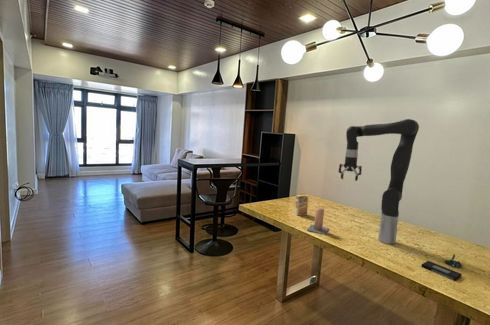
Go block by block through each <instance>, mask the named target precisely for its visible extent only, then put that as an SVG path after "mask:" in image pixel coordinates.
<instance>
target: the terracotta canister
mask: <svg viewBox="0 0 490 325" xmlns="http://www.w3.org/2000/svg"><path fill="white" fill-rule="evenodd" d="M324 214H325V208H323V207H316V208H315V214H314V224H313V225H314V229H315V230H319V231H321V230H322V227H324Z"/></svg>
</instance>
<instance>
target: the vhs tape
mask: <svg viewBox="0 0 490 325" xmlns="http://www.w3.org/2000/svg"><path fill="white" fill-rule="evenodd" d="M421 268H422V269H425V270H427V271H430V272H433V273H435V274H436V275H437V274H438V275H439V276H442V277H445V278H447V279H449V280H451V281H454V282H456V281H458V280H459V279H460V278H461V277H462V273H461V272H458V271H455V270H453V269H451V268H447V267H445V266H442V265H440V264H437V263H435V262H432V261H430V260H427V261H426V262H423V263H421Z"/></svg>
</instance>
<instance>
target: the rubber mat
mask: <svg viewBox="0 0 490 325" xmlns="http://www.w3.org/2000/svg"><path fill="white" fill-rule="evenodd" d="M329 230H330V228H328V227H324V226H323V227H322V230H321V231H319V230H315V229H314V224H310V226H309V227H308V228H307V229H306V231H307V232H310V233H315V234H320V235H325V236H326V234H327V233H328V231H329Z"/></svg>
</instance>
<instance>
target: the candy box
mask: <svg viewBox="0 0 490 325" xmlns="http://www.w3.org/2000/svg"><path fill="white" fill-rule="evenodd" d="M308 205H309V196H308V195H307V194H300V195H299V194H297V195H295V206H294V207H295V208H294V210H295V211H294V214H295V215H296V216H307V215H308V208H309V206H308Z"/></svg>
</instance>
